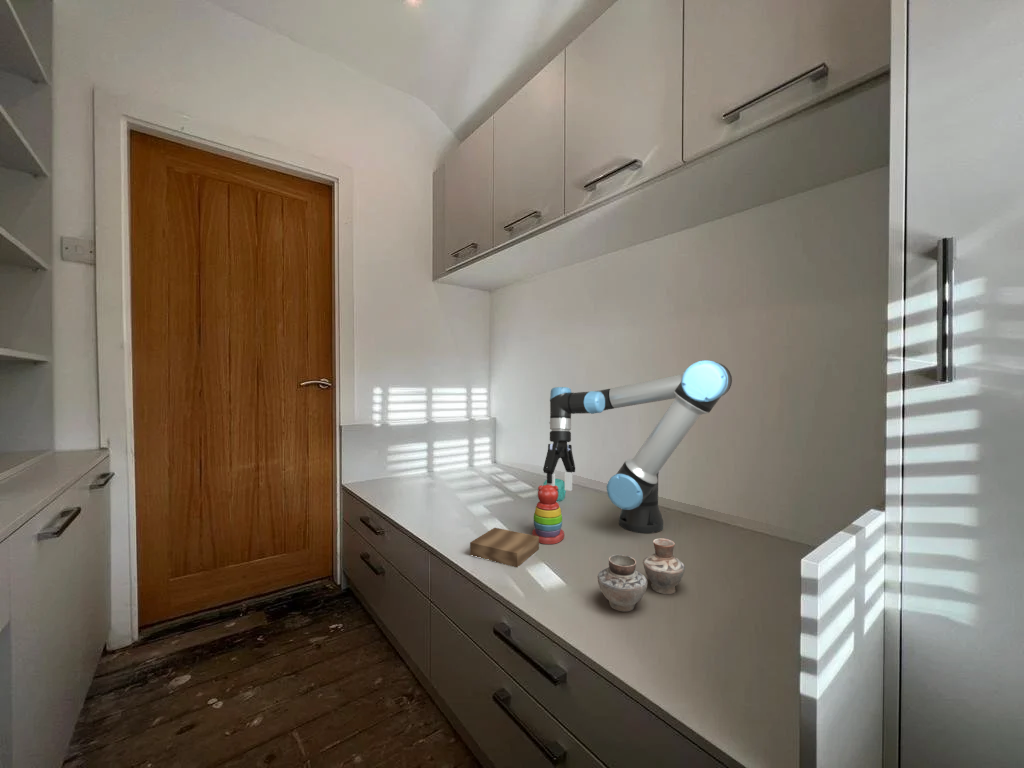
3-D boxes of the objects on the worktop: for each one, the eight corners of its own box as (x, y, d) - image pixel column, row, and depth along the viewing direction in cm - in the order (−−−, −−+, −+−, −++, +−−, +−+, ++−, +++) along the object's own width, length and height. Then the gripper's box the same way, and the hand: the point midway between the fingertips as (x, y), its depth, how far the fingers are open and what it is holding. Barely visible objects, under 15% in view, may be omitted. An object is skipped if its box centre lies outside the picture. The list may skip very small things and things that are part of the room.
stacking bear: (564, 532, 143) (564, 481, 143) (564, 545, 133) (564, 490, 132) (532, 531, 145) (532, 480, 144) (530, 544, 134) (530, 489, 134)
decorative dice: (542, 500, 182) (542, 481, 181) (548, 495, 189) (548, 477, 189) (560, 502, 178) (560, 484, 178) (566, 497, 185) (566, 479, 185)
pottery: (695, 593, 104) (695, 545, 104) (622, 624, 91) (622, 570, 91) (657, 574, 114) (658, 530, 114) (587, 601, 101) (587, 551, 101)
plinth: (538, 549, 131) (538, 536, 131) (517, 567, 118) (517, 553, 118) (494, 539, 138) (494, 527, 138) (470, 555, 126) (470, 542, 126)
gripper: (566, 432, 163) (566, 488, 160) (533, 428, 143) (532, 493, 140) (584, 432, 159) (584, 490, 156) (553, 428, 139) (552, 495, 135)
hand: (559, 491), depth 148 cm, fingers open, 13 cm apart
